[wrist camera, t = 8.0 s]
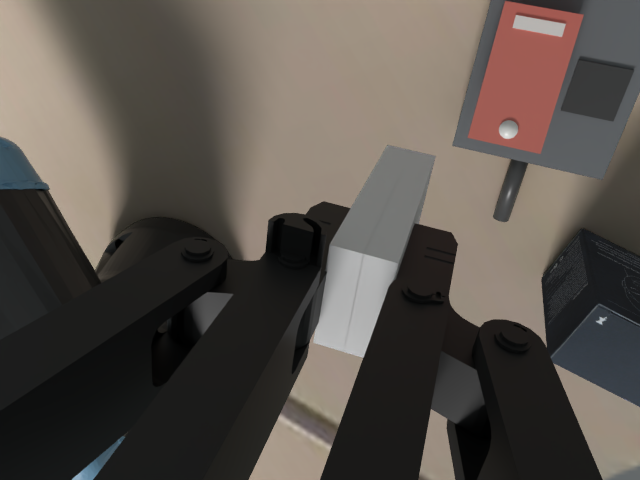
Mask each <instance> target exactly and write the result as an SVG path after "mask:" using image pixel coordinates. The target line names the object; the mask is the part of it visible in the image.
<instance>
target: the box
mask: <svg viewBox="0 0 640 480" xmlns="http://www.w3.org/2000/svg"><path fill="white" fill-rule="evenodd" d="M542 293H543V304H544V317H545V329H546V342H547V350H548V352H549V355H550V357H551V360H552V362H553V363H554V364H556V365H558V366H560V367H562V368H564V369H566V370H568V371H570V372H572V373H574V374H576V375H578V376H580V377H582V378H584V379H586V380H588V381H590V382H592V383H594V384H596V385H598V386H600V387H602V388H604V389H605V390H608V391H610V392H612V393H613V394H615V395H617V396H619V397H621V398H623V399H625V400H627V401H629V402H631V403H633V404H635V405H637V406H639V407H640V257H639V256H638V255H635V254H633V253H631V252H629V251H627V250H625V249H623V248H621V247H619V246H617V245H615V244H613V243H611V242H609V241H607V240H605V239H603V238H601V237H599V236H597V235H595V234H593V233H591V232H589V231H587V230H585V229H581V230H580V231H579V232H578V234H577V235H576V236H575V237H574V238H573V239H572V241H571V242H570V243H569V244H568V246H567V247H566V248H565V249H564V251H563V252H562V253H561V255H560V256H559V257H558V258H557V259H556V261H555V262H554V263H553V265H552V266H551V267H550V268H549V270H548V271H547V272H546V273H545V274H544V275H543V277H542Z"/></svg>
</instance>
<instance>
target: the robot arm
mask: <svg viewBox="0 0 640 480" xmlns="http://www.w3.org/2000/svg"><path fill="white" fill-rule="evenodd" d="M435 157H436V156H434V155H430V154H425V153H421V152H417V151H412V150H408V149H404V148H399V147H395V146H391V145H387V147H386V148H385V150H384V152H383V154H382V155H381V157H380V159H379V161H378V162H377V164H376V166H375V167H374V169H373V171H372V173H371V174H370V176H369V178H368V179H367V181H366V183H365V185H364V186H363V188H362V190H361V191H360V193H359V195H358V197H357V198H356V200H355V202H354V203H353V205H352V207H351V208H347V207H343V206H340V205H336V204H332V203H328V202H321V203H319V204H317V205H315V206H313V207H311V208H310V209H309V211H308V212H307V213H306V215H305V214H298V213H284V214H280V215H276V216H274V217H272V218H271V219H270V220H269V221H268V232H267V242H266V252H265V253H264V255H263V256H262V257H261V259H260V260H256V261H242V260H233V259H232V258H231V256H230V255H229V254H228V251H227V249H226V248H225V246H224V245H222V244H221V243H219V242H218V241H216V240H214V239H213V238H212V237H211V236H209V235H208V234H206V233H205V232H203V231H202V230H200V229H198V228H196V227H195V226H192V225H190V224H188V223H185V222H182V221H179V220H175V219H170V218H158V217H157V218H148V219H143V220H140V221H138V222H136V223H134V224H132V225H130V226H129V227H128V228H126V229H125V230H124V231H123V232H121V233H120V234H119V235H117V236H116V237H115V238H114V239H113V240H112V241H111V242H110V244H109V245H108V246H107V248H106V250H105V252H104V253H103V255H102V257H101V259H100V261H99V263H98V265H97V267H96V269H95V270H94V268H93V267H92V265H91V263H90V262H89V260H88V258H87V257H86V255H85V253H84V252H83V250H82V248H81V247H80V245H79V243H78V241H77V240H76V238H75V236H74V235H73V233H72V231H71V230H70V228H69V226H68V224H67V223H66V221H65V219H64V217H63V216H62V214H61V212H60V210H59V209H58V207H57V205H56V203H55V201H54V200H53V198H52V196H51V194H50V193H49V191H48V190H49V189H50V188H49V186H48V185H47V184H46V183H44V182H43V181H42V180H41V179H40V177H39V176H38V174H37V173H36V171H35V170H34V168H33V167H32V165H31V164H30V162H29V161H28V159H27V158H26V156H25V155H24V153H23V151H22V150H21V149H20V148H19V147H18V146H17V145H16V144H15V143H13V142H12V141H10V140H8V139H6V138H2V137H0V480H249V477H250V475H251V473H252V471H253V469H254V467H255V465H256V463H257V461H258V459H259V456H260V454H261V452H262V450H263V448H264V446H265V444H266V442H267V440H268V438H269V436H270V433H271V431H272V429H273V427H274V425H275V423H276V421H277V419H278V417H279V415H280V413H281V410H282V408H283V406H284V404H285V402H286V400H287V398H288V396H289V394H290V392H291V389H292V387H293V385H294V383H295V381H296V379H297V377H298V375H299V373H300V371H301V369H302V366H303V364H304V362H305V360H306V358H307V355H308V348H309V342H310V339H311V337H312V335H313V333H314V331H315V336H314V342H313V343H316V344H320V345H323V346H326V347H329V348H333V349H336V350H339V351H343V352H346V353H349V354H352V355H356V356H359V357H362V358H363V361H362V363H361V366H360V369H359V372H358V375H357V378H356V380H355V383H354V386H353V389H352V392H351V394H350V397H349V400H348V403H347V406H346V408H345V411H344V414H343V417H342V420H341V423H340V425H339V428H338V431H337V434H336V437H335V439H334V442H333V445H332V448H331V451H330V453H329V456H328V459H327V462H326V465H325V467H324V470H323V473H322V476H321V479H320V480H418V478H419V472H420V466H421V461H422V455H423V450H424V444H425V438H426V433H427V427H428V422H429V416H430V410H431V409H432V410H434V411H436V412H437V413H439V414H441V415H442V416H444V417H446V418H447V433H448V439H449V444H450V450H451V456H452V462H453V468H454V474H455V480H602V477H601V475H600V473H599V470H598V468H597V465H596V463H595V461H594V458H593V456H592V454H591V451H590V449H589V447H588V444H587V442H586V440H585V437H584V435H583V433H582V430H581V428H580V425H579V423H578V421H577V418H576V416H575V414H574V411H573V409H572V407H571V404H570V402H569V400H568V397H567V395H566V392H565V390H564V388H563V385H562V383H561V381H560V378H559V376H558V374H557V371H556V369H555V367H554V364H553V362H552V360H551V357H550V355H549V352H548V350H547V348H546V345H545V344H544V342H543V341H542V340H541V338H540V337H539V336H538V335H537V334H536V333H534V332H533V331H532V330H531V329H529V328H527V327H525V326H523V325H521V324H519V323H516V322H512V321H508V320H490V321H487V322H485V323H484V324H483V325H482V326H481V327H478V326H476V325H474V324H472V323H470V322H468V321H467V320H465V319H463V318H462V317H461V316H460V315H458V314H457V313H456V312H455V311H454V309H453V308H452V307H451V305H450V301H449V290H450V285H451V279H452V274H453V268H454V262H455V256H456V251H457V246H458V243H457V242H456V240H455V238H454V236H453V234H452V233H451V232H447V231H443V230H439V229H435V228H431V227H427V226H423V225H419V220H420V216H421V212H422V208H423V204H424V200H425V196H426V192H427V188H428V184H429V180H430V176H431V172H432V169H433V165H434V161H435ZM315 329H316V330H315Z"/></svg>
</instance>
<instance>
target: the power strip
mask: <svg viewBox="0 0 640 480" xmlns="http://www.w3.org/2000/svg"><path fill="white" fill-rule="evenodd" d="M505 1H509V2H515V3H520V4H526V5H532V6H537V7H543V8H548V9H554V10H560V11H565V12H571V13H577V14H582V15H584V16H583V19H582V22H581V26H580V29H579V32H578V35H577V39H576V42H575V45H574V48H573V51H572V55H571V58H570V61H569V64H568V67H567V71H566V74H565V77H564V80H563V83H562V87H561V90H560V93H559V96H558V99H557V103H556V106H555V109H554V112H553V115H552V119H551V122H550V125H549V128H548V132H547V135H546V138H545V141H544V144H543V148H542V151H541V154H538V153H533V152H529V151H524V150H520V149H515V148H511V147H507V146H502V145H498V144H493V143H489V142H484V141H480V140H475V139H471V138H468V134H469V130H470V126H471V123H472V119H473V115H474V112H475V108H476V104H477V101H478V97H479V93H480V90H481V86H482V83H483V79H484V75H485V72H486V68H487V64H488V61H489V57H490V53H491V50H492V46H493V42H494V39H495V35H496V31H497V28H498V24H499V20H500V17H501V13H502V9H503V6H504V3H505ZM639 92H640V0H491V2H490V6H489V10H488V13H487V17H486V21H485V25H484V28H483V32H482V36H481V40H480V43H479V47H478V51H477V55H476V58H475V62H474V66H473V70H472V74H471V77H470V81H469V85H468V89H467V92H466V96H465V100H464V104H463V107H462V111H461V115H460V119H459V122H458V126H457V130H456V134H455V137H454V141H453V145H452V146H456V147H460V148H465V149H469V150H473V151H478V152H482V153H487V154H491V155H495V156H500V157H504V158H509V159H512V160H511V163H510V166H509V169H508V172H507V175H506V178H505V181H504V184H503V187H502V190H501V193H500V196H499V199H498V202H497V205H496V209H495V212H494V215H493V217H494V218H495V219H496V220H498V221H502V222H507V221H508V220H509V217H510V215H511V212H512V209H513V206H514V203H515V200H516V197H517V194H518V191H519V188H520V185H521V183H522V180H523V177H524V174H525V171H526V168H527V165H528V163H530V164H535V165H539V166H544V167H548V168H552V169H557V170H561V171H566V172H570V173H574V174H579V175H583V176H588V177H592V178H596V179H601V180H603V177H604V175H605V173H606V170H607V168H608V166H609V163H610V161H611V158H612V156H613V154H614V151H615V149H616V147H617V144H618V142H619V140H620V137H621V135H622V132H623V130H624V128H625V125H626V123H627V121H628V118H629V116H630V114H631V111H632V109H633V106H634V104H635V102H636V99H637V97H638V95H639Z"/></svg>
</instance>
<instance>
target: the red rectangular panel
mask: <svg viewBox="0 0 640 480" xmlns="http://www.w3.org/2000/svg"><path fill="white" fill-rule="evenodd" d="M583 16H584V15H582V14H577V13H571V12H565V11H560V10H554V9H548V8H543V7H537V6H532V5H526V4H520V3H515V2H509V1H505V3H504V6H503V9H502V13H501V17H500V20H499V24H498V28H497V31H496V35H495V39H494V42H493V46H492V50H491V53H490V57H489V61H488V64H487V68H486V72H485V75H484V79H483V83H482V86H481V90H480V93H479V97H478V101H477V104H476V108H475V112H474V115H473V119H472V123H471V126H470V130H469V134H468V138H471V139H475V140H480V141H484V142H489V143H493V144H498V145H502V146H507V147H511V148H515V149H520V150H524V151H529V152H533V153H538V154H541V151H542V148H543V144H544V141H545V138H546V135H547V132H548V128H549V125H550V122H551V119H552V115H553V112H554V109H555V106H556V103H557V99H558V96H559V93H560V90H561V87H562V83H563V80H564V77H565V74H566V71H567V67H568V64H569V61H570V58H571V55H572V51H573V48H574V45H575V42H576V39H577V35H578V32H579V29H580V26H581V22H582V19H583Z"/></svg>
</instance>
